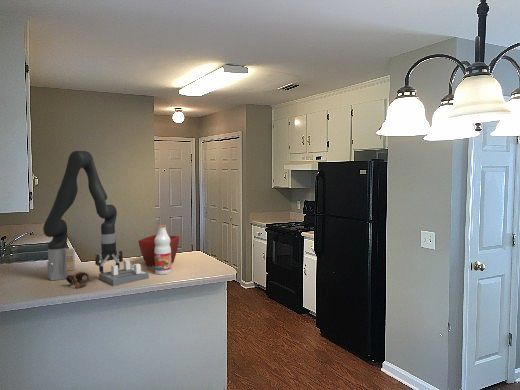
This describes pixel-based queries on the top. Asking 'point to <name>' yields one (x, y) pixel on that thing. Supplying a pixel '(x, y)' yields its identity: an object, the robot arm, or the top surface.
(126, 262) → the block
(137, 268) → the breaker near
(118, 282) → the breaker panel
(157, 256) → the fruit juice
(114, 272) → the breaker
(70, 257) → the supplement box
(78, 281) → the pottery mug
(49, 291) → the top surface
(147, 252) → the plant pot
